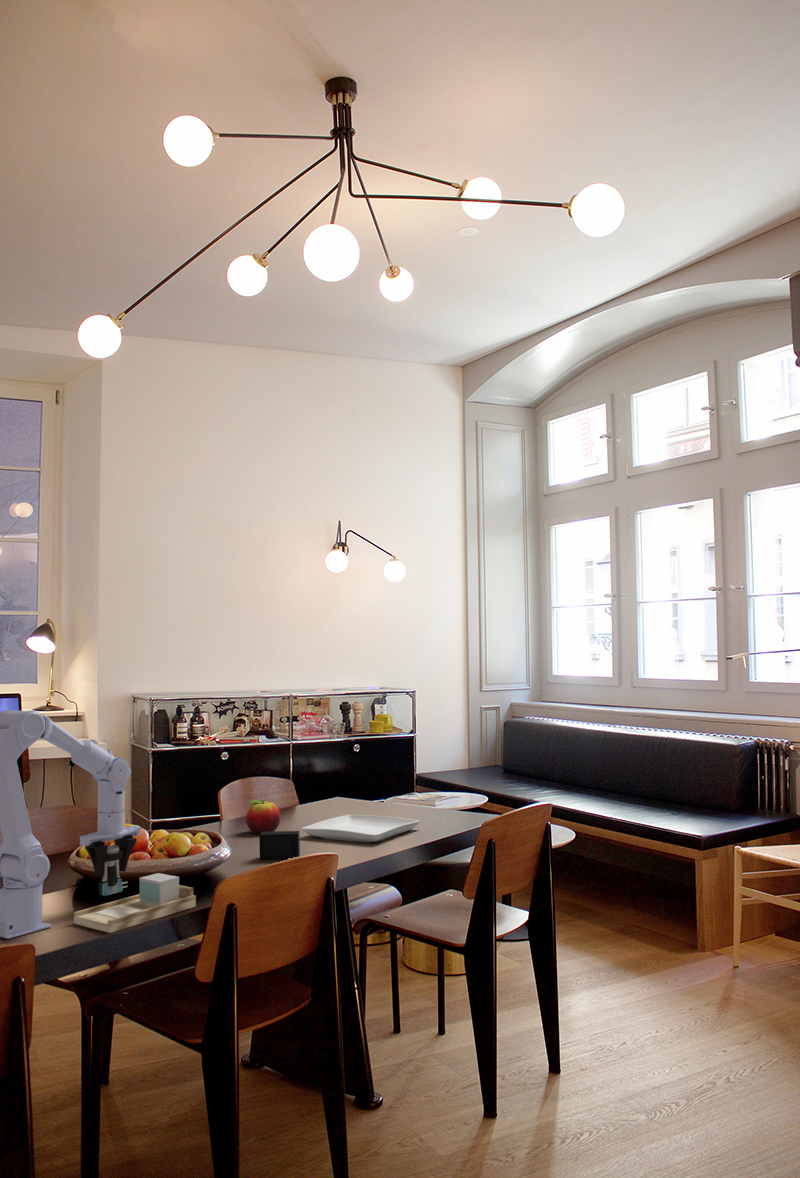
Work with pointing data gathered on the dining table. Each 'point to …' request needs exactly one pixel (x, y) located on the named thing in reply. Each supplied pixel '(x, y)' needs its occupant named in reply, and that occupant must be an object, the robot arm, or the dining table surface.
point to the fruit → (262, 817)
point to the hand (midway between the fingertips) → (110, 873)
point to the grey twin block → (159, 889)
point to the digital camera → (279, 845)
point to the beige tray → (131, 911)
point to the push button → (112, 872)
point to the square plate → (360, 827)
